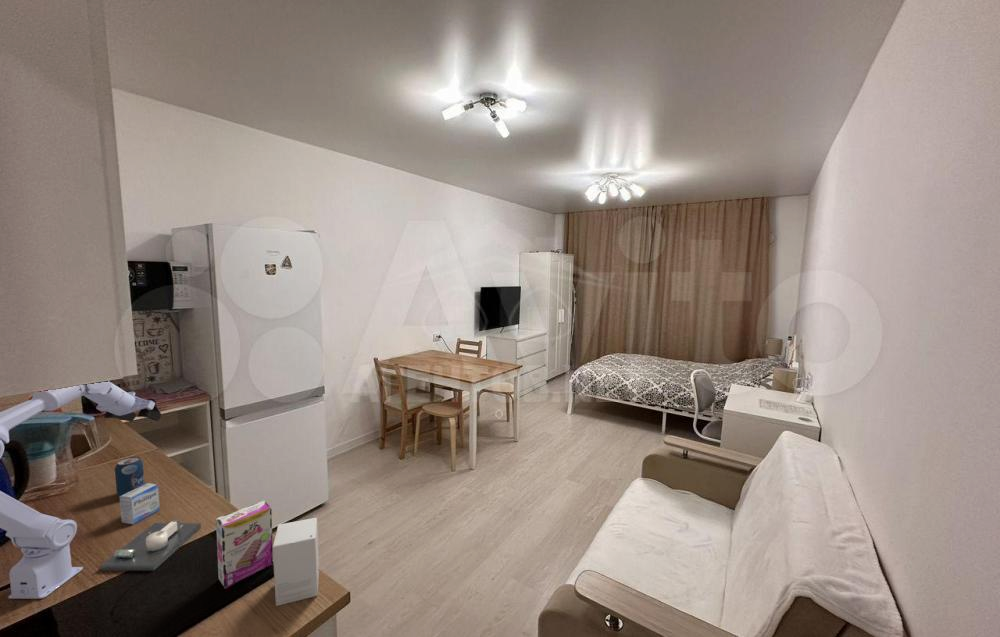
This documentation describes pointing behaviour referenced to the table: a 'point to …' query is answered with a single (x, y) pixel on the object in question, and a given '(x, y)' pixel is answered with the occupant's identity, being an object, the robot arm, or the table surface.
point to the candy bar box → (244, 543)
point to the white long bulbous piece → (161, 536)
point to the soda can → (129, 475)
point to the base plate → (143, 560)
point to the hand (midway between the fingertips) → (146, 417)
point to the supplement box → (296, 561)
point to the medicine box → (139, 503)
